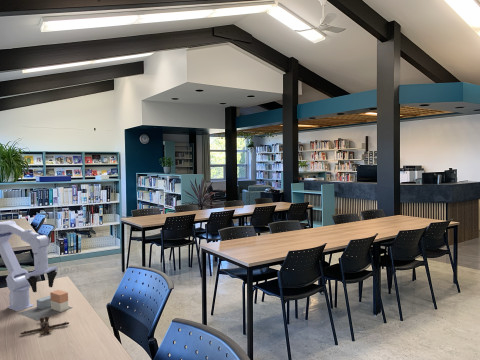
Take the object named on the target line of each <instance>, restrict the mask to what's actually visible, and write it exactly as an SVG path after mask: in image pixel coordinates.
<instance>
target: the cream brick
mask: <svg viewBox="0 0 480 360" xmlns="http://www.w3.org/2000/svg"><path fill="white" fill-rule="evenodd" d="M68 306H69V300H68V301H66V302H63V303H57V302H54V301H51V309H54V310H56V311H59V312H60V313H63V312H65V311H64V310H66V311H68V310H67V309H68ZM62 311H63V312H62Z"/></svg>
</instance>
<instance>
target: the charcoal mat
mask: <svg viewBox="0 0 480 360" xmlns="http://www.w3.org/2000/svg"><path fill="white" fill-rule="evenodd" d="M71 309H73V307H71V306H69V305H68V309H67V310H64V311H62V312H59V311H56V310H54V309H51V306H50V307H47V308H45V309H42V310H41V309H38V308H37V306H36V307H33V308H32V307H31V308H30V309H27V310H24V311H23V310H22V311H21V312H18V313H17V314H19V315H21V316H24V317H26V318H29V319H32V320H33V321H37V322H40V318H41V317H42V318H43V317H44V319H45V317H46V316H47V317H49V318H50V317H51V316H52V317H53V316H55V315H58V314H60V313H63V312H66V311H68V310H71Z"/></svg>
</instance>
